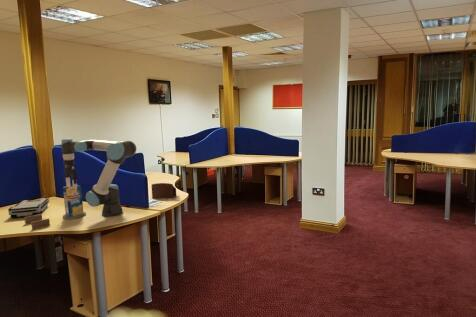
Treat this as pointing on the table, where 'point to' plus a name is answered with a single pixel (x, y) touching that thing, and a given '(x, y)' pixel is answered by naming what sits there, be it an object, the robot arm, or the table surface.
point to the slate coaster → (74, 216)
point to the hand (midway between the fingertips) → (71, 187)
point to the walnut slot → (37, 221)
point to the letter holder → (163, 191)
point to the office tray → (28, 208)
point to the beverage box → (73, 200)
